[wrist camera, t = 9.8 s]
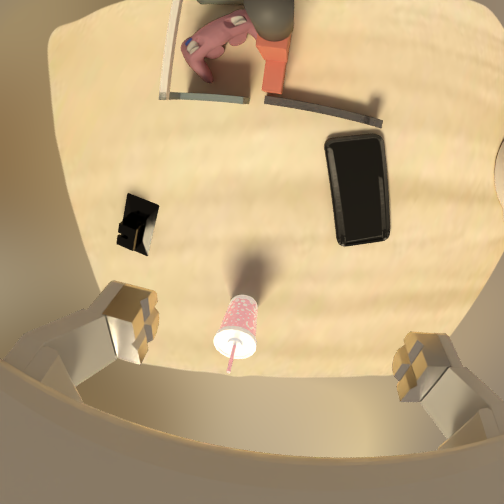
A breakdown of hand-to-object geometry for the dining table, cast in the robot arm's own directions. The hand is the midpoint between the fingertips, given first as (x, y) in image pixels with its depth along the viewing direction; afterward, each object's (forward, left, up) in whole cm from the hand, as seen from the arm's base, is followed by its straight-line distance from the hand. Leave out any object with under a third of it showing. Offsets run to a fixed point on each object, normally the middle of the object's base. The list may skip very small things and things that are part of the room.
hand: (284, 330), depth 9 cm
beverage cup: (+3, +25, -31) cm, 40 cm away
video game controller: (+9, -13, -31) cm, 35 cm away
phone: (-10, +3, -32) cm, 33 cm away
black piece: (+21, +14, -32) cm, 41 cm away
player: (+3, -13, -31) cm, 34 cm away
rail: (-3, -6, -31) cm, 32 cm away
